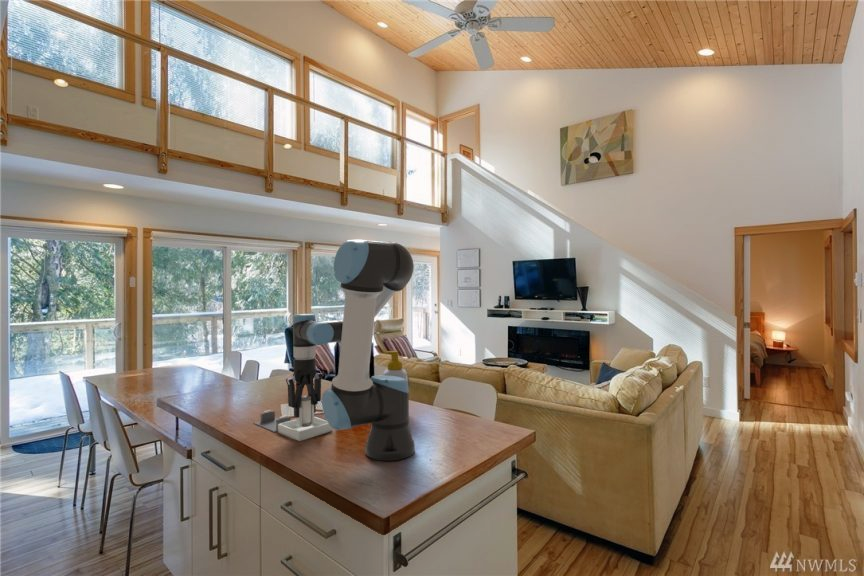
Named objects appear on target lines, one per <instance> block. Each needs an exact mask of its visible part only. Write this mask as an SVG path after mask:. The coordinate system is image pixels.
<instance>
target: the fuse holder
mask: <svg viewBox="0 0 864 576" xmlns="http://www.w3.org/2000/svg"><path fill="white" fill-rule="evenodd" d="M275 411H276V410H272V409H268V410H264V411H263V412H262V413H260V421H254V422H253V424H254V425H256V426H258V427H260V428H263V429H266V430H268V431H269V432H272V433H278V424H280V423H284V422H288V421H291V420H292V419H291V416H289V415H287V414H285V415H283V416H279V417H277V416H276V415H275V413H276V412H275Z"/></svg>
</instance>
